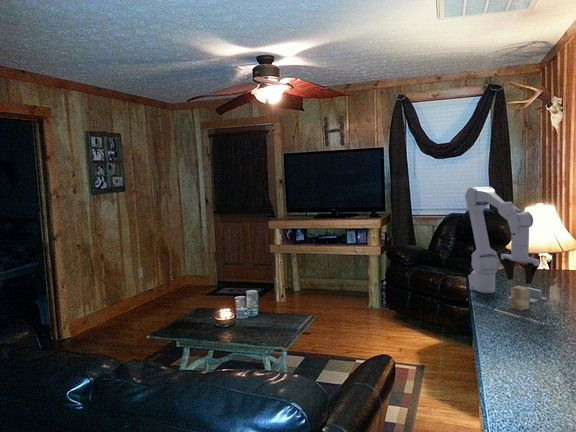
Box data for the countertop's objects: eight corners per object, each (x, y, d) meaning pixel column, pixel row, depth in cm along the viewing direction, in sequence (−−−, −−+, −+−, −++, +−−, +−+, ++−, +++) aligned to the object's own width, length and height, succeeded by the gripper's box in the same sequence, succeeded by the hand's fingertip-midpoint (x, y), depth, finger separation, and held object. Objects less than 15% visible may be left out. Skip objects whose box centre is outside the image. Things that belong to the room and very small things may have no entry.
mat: (494, 310, 164) (494, 309, 164) (519, 304, 171) (519, 303, 171) (518, 317, 155) (518, 316, 155) (545, 311, 162) (545, 310, 162)
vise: (507, 299, 177) (507, 289, 177) (526, 295, 182) (526, 285, 182) (528, 305, 169) (528, 294, 169) (547, 300, 174) (547, 290, 173)
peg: (511, 309, 164) (511, 287, 163) (518, 307, 166) (518, 285, 165) (521, 311, 160) (521, 289, 160) (528, 310, 162) (528, 288, 161)
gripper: (495, 243, 171) (495, 278, 173) (530, 249, 158) (529, 287, 160) (508, 241, 175) (507, 276, 176) (544, 247, 162) (543, 284, 163)
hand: (519, 281), depth 168 cm, fingers open, 7 cm apart
